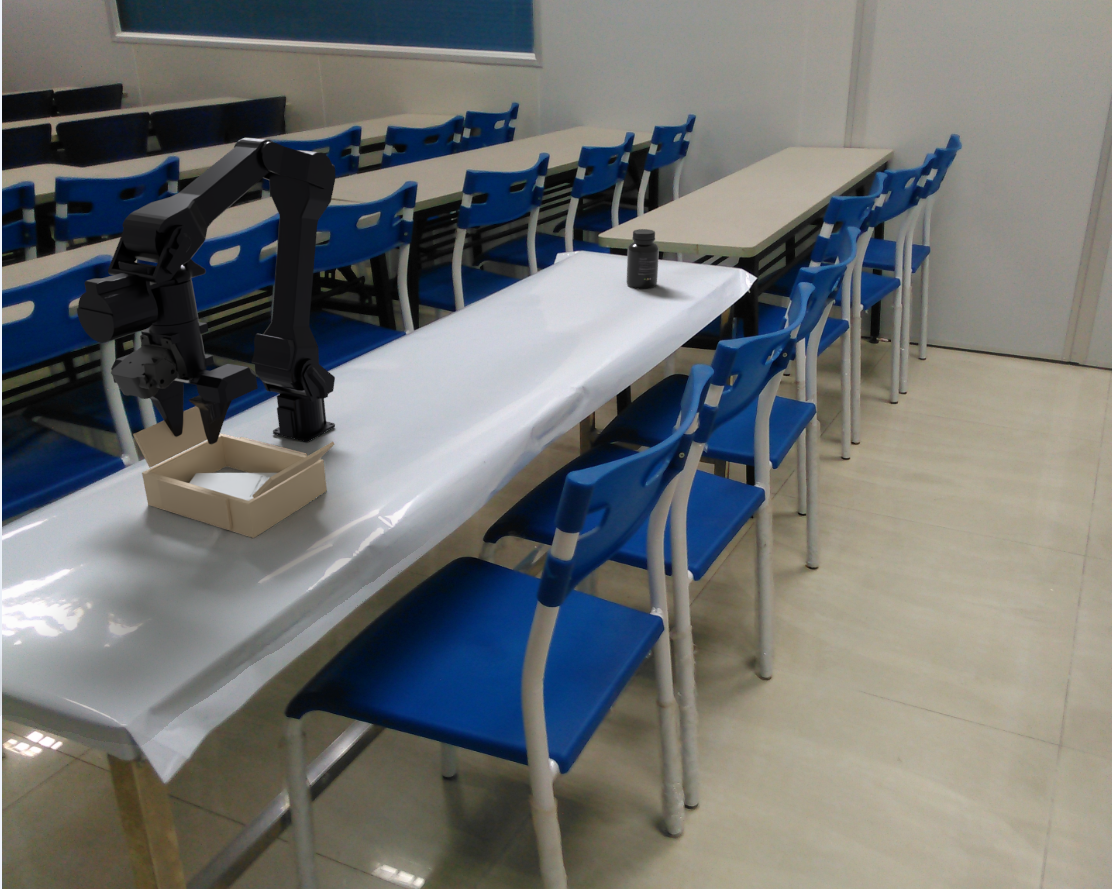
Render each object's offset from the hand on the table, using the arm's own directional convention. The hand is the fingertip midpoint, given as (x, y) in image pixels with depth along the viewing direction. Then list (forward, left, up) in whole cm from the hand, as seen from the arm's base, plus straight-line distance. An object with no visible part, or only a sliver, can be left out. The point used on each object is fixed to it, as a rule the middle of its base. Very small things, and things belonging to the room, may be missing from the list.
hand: (195, 439), depth 120 cm
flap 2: (0, +16, 0) cm, 16 cm away
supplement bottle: (-117, +13, -7) cm, 118 cm away
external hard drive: (0, +6, -7) cm, 9 cm away
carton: (0, +6, -7) cm, 9 cm away
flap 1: (0, -3, 0) cm, 3 cm away
